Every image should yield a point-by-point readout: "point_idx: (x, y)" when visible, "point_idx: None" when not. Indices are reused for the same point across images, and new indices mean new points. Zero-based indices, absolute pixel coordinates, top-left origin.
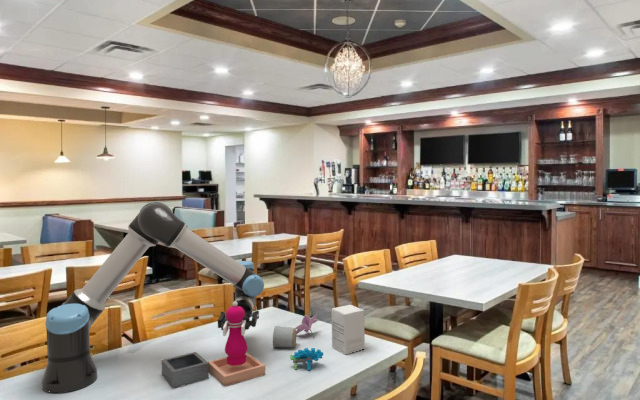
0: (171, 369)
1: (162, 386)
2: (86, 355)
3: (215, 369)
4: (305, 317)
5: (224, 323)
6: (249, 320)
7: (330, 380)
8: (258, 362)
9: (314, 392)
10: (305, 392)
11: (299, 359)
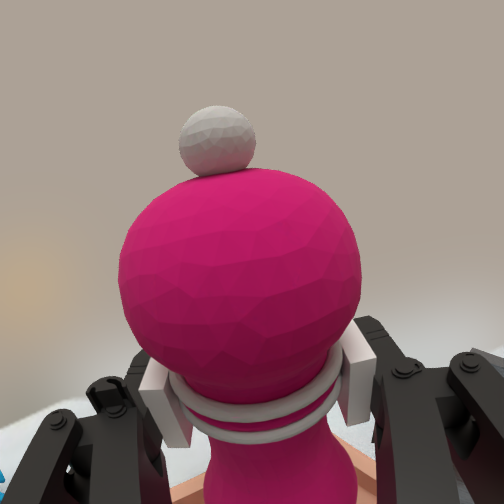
0: (491, 356)
1: None
2: None
3: (373, 461)
4: None
5: (379, 356)
6: (103, 408)
7: (9, 438)
8: None
9: (63, 403)
10: (79, 405)
11: None
